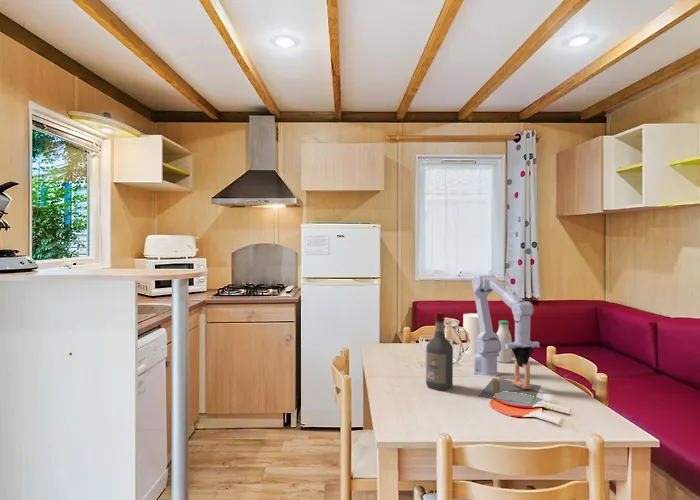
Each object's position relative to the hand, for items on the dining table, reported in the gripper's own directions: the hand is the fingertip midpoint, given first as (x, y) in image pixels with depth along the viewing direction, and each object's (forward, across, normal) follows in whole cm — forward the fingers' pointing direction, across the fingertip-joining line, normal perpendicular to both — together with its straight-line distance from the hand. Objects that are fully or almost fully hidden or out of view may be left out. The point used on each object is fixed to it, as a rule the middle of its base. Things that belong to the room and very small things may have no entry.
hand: (522, 365), depth 175 cm
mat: (+9, -6, -2) cm, 11 cm away
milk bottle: (+9, +17, +38) cm, 43 cm away
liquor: (+9, -31, +10) cm, 34 cm away
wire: (+9, -9, -3) cm, 13 cm away
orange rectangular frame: (+8, 0, 0) cm, 8 cm away
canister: (+9, +13, +56) cm, 59 cm away
